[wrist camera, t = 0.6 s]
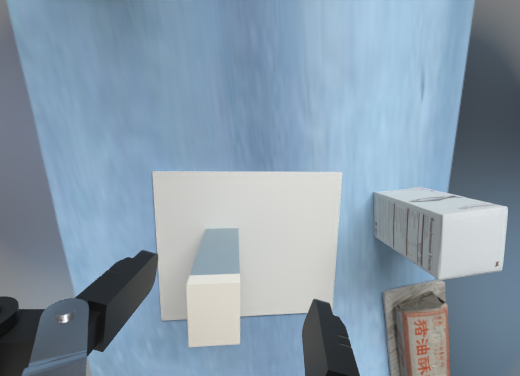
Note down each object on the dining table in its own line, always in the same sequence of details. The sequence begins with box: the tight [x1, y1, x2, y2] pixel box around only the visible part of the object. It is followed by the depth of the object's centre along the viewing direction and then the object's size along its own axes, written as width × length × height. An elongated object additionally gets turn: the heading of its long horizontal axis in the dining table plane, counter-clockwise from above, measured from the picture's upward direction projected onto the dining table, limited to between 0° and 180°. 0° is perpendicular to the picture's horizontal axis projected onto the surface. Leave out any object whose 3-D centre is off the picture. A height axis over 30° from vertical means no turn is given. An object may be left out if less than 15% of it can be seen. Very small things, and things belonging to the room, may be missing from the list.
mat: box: [152, 171, 342, 321], centre depth 36 cm, size 22×26×1 cm
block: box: [186, 228, 240, 347], centre depth 28 cm, size 6×4×14 cm
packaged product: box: [383, 279, 450, 376], centre depth 39 cm, size 18×5×10 cm
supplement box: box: [374, 187, 508, 280], centre depth 31 cm, size 7×7×13 cm
